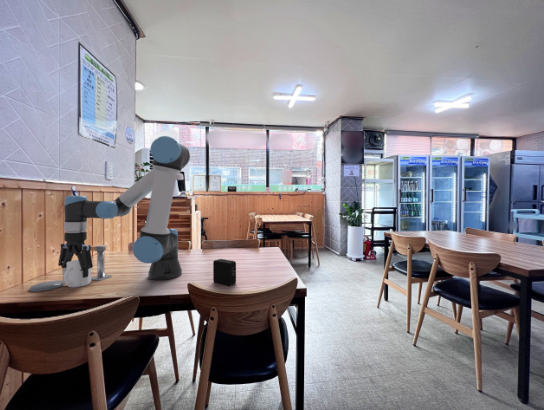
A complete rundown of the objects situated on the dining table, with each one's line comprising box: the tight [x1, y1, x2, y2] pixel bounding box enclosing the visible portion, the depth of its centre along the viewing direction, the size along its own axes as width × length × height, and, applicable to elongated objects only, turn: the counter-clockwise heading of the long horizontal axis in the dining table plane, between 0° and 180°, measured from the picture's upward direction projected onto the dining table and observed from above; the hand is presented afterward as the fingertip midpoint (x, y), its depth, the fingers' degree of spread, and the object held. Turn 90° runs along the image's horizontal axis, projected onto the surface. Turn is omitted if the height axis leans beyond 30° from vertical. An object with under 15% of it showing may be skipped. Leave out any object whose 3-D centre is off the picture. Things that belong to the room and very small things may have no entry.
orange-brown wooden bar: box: [90, 245, 107, 252], centre depth 114 cm, size 4×19×2 cm, turn 94°
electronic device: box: [212, 258, 237, 287], centre depth 108 cm, size 4×10×10 cm, turn 58°
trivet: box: [29, 280, 66, 293], centre depth 103 cm, size 11×11×1 cm
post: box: [91, 250, 113, 281], centre depth 115 cm, size 6×6×13 cm
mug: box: [64, 259, 92, 288], centre depth 104 cm, size 12×8×10 cm
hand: (75, 283), depth 105 cm, fingers open, 9 cm apart
